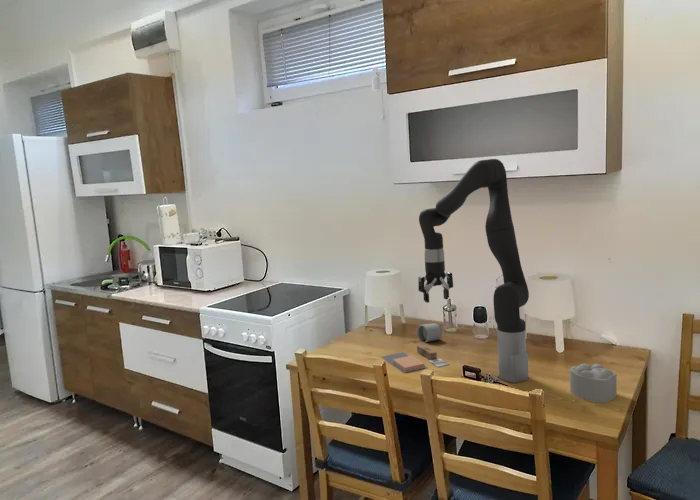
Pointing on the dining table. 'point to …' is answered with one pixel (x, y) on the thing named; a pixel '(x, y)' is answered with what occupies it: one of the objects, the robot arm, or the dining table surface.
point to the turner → (431, 356)
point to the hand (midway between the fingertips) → (436, 300)
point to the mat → (394, 356)
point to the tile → (408, 363)
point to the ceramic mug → (429, 332)
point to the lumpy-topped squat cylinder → (593, 383)
